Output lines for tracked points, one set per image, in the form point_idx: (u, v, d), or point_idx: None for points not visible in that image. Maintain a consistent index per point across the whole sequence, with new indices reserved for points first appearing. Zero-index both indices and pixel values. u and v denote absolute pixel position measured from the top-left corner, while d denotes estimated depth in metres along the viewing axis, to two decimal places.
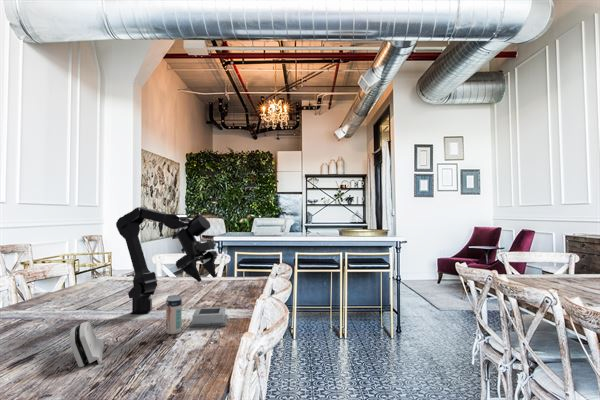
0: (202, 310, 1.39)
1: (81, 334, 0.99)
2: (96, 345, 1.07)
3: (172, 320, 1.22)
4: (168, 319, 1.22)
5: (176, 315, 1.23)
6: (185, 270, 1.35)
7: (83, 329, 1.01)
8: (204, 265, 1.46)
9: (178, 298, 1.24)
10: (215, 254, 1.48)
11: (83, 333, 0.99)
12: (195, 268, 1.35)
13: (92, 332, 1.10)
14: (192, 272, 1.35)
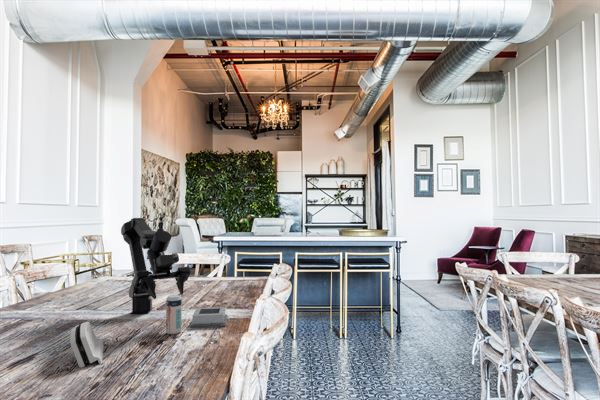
0: (202, 310, 1.39)
1: (82, 334, 0.99)
2: (96, 345, 1.07)
3: (172, 320, 1.22)
4: (168, 319, 1.22)
5: (176, 315, 1.23)
6: (143, 288, 1.28)
7: (84, 329, 1.01)
8: (177, 283, 1.36)
9: (178, 298, 1.24)
10: (186, 270, 1.36)
11: (84, 333, 0.99)
12: (150, 284, 1.26)
13: (92, 332, 1.09)
14: (148, 289, 1.27)
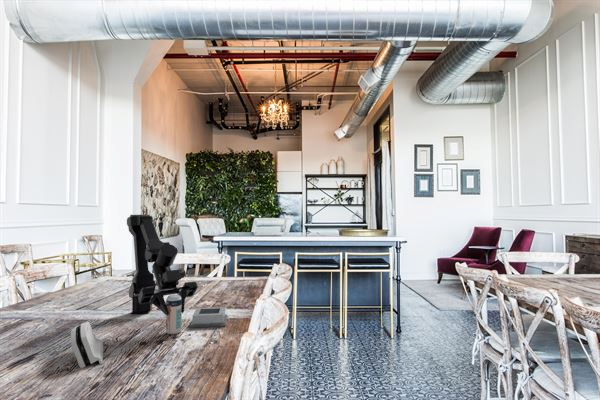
0: (202, 310, 1.39)
1: (82, 334, 0.99)
2: (96, 345, 1.06)
3: (172, 320, 1.22)
4: (168, 319, 1.22)
5: (176, 315, 1.23)
6: (155, 304, 1.25)
7: (84, 329, 1.01)
8: None
9: (178, 298, 1.24)
10: (192, 285, 1.31)
11: (84, 333, 0.99)
12: (162, 300, 1.23)
13: (92, 333, 1.09)
14: (160, 305, 1.24)
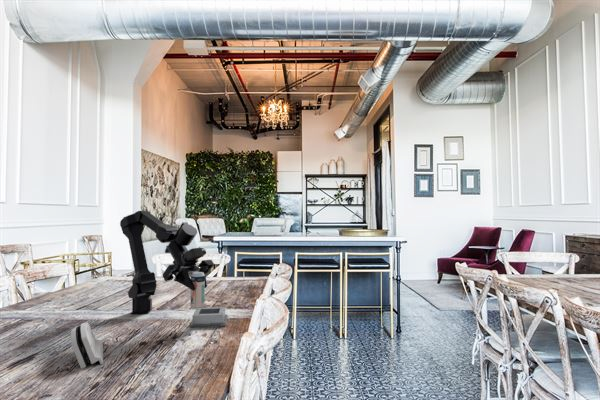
0: (202, 310, 1.39)
1: (83, 335, 0.98)
2: (96, 346, 1.06)
3: (198, 295, 1.29)
4: (194, 294, 1.29)
5: (201, 290, 1.30)
6: (179, 280, 1.30)
7: (84, 330, 1.00)
8: None
9: (203, 274, 1.31)
10: (210, 262, 1.39)
11: (84, 334, 0.99)
12: (187, 277, 1.29)
13: (91, 333, 1.09)
14: (185, 281, 1.29)
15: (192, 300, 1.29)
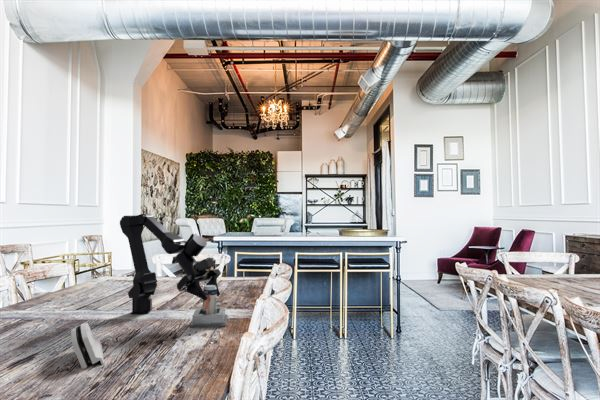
0: (202, 310, 1.39)
1: (83, 335, 0.98)
2: (96, 346, 1.06)
3: (211, 307, 1.34)
4: (207, 307, 1.34)
5: (214, 303, 1.35)
6: (189, 291, 1.33)
7: (85, 330, 1.00)
8: None
9: (215, 287, 1.36)
10: (218, 272, 1.44)
11: (85, 334, 0.99)
12: (199, 287, 1.33)
13: (91, 333, 1.09)
14: (197, 291, 1.33)
15: (205, 313, 1.34)
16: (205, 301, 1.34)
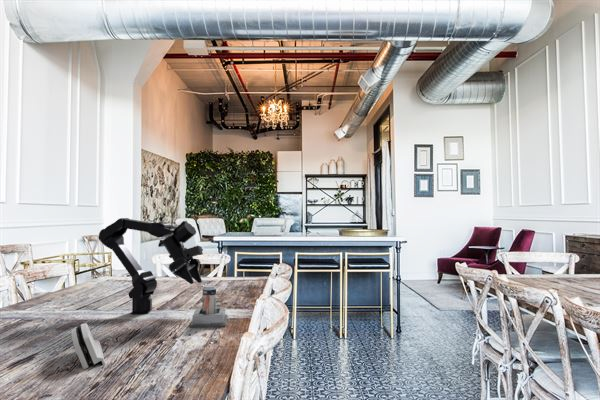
0: None
1: (84, 335, 0.98)
2: (96, 346, 1.06)
3: (211, 307, 1.34)
4: (207, 307, 1.34)
5: (214, 303, 1.35)
6: (177, 273, 1.39)
7: (85, 330, 1.00)
8: None
9: (215, 287, 1.36)
10: (199, 261, 1.53)
11: (86, 334, 0.98)
12: (188, 271, 1.40)
13: (90, 334, 1.08)
14: (185, 275, 1.40)
15: (205, 313, 1.34)
16: (205, 301, 1.34)
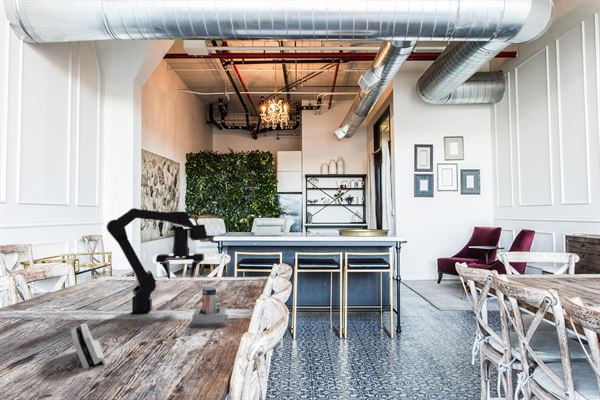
0: None
1: (85, 335, 0.98)
2: (96, 347, 1.05)
3: (211, 307, 1.34)
4: (207, 307, 1.34)
5: (214, 303, 1.35)
6: None
7: (86, 330, 1.00)
8: (167, 264, 1.56)
9: (214, 287, 1.36)
10: None
11: (87, 334, 0.98)
12: None
13: (90, 334, 1.08)
14: (194, 268, 1.59)
15: (205, 313, 1.34)
16: (204, 301, 1.34)
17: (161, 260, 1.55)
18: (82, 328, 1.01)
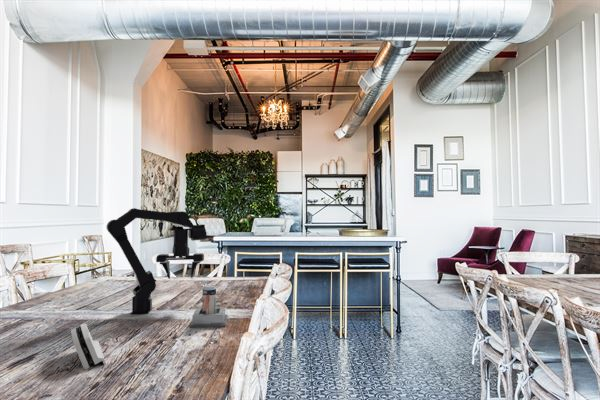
0: None
1: (85, 336, 0.98)
2: (96, 347, 1.05)
3: (211, 307, 1.34)
4: (207, 307, 1.34)
5: (214, 303, 1.35)
6: None
7: (86, 331, 1.00)
8: (167, 264, 1.56)
9: (214, 287, 1.36)
10: None
11: (87, 334, 0.98)
12: None
13: (90, 334, 1.08)
14: (194, 268, 1.59)
15: (205, 313, 1.34)
16: (205, 301, 1.34)
17: (161, 260, 1.55)
18: (82, 328, 1.01)
